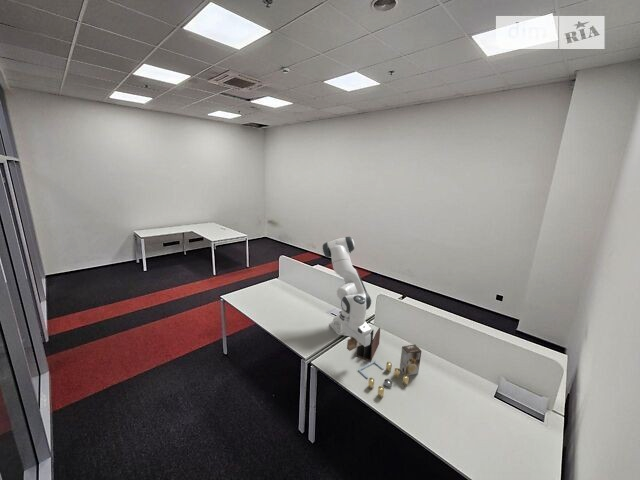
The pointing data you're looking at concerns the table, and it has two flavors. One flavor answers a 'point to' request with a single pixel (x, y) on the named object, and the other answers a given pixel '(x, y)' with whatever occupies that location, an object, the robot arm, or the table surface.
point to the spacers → (396, 376)
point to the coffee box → (410, 360)
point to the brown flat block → (352, 344)
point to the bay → (367, 366)
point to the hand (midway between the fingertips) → (354, 343)
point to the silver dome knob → (388, 383)
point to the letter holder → (369, 347)
